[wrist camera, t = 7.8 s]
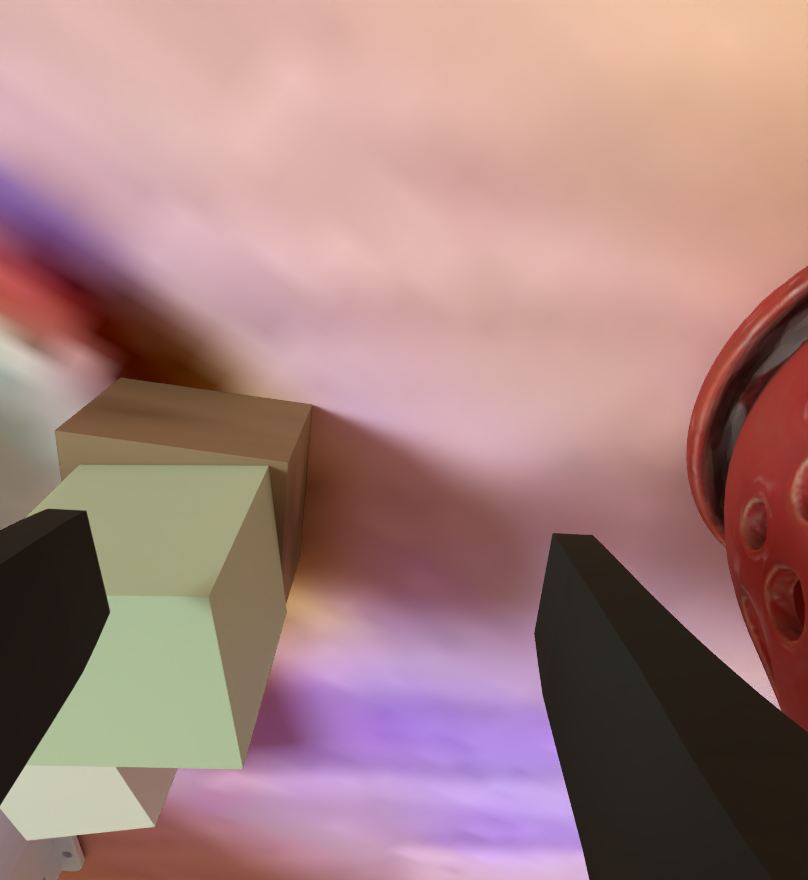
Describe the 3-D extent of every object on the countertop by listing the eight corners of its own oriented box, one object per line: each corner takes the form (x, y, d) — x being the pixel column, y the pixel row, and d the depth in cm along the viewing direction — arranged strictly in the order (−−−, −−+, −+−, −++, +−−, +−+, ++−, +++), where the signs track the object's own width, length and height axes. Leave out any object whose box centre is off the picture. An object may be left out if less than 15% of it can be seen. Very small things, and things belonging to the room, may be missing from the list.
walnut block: (301, 552, 22) (277, 633, 18) (135, 530, 22) (79, 607, 18) (313, 401, 19) (287, 462, 16) (124, 375, 19) (54, 430, 15)
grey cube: (201, 706, 26) (155, 826, 21) (93, 720, 26) (26, 840, 22) (155, 618, 23) (92, 732, 19) (39, 636, 24) (-49, 751, 20)
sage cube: (268, 465, 16) (208, 596, 11) (286, 612, 18) (242, 769, 14) (79, 464, 16) (-54, 593, 11) (121, 610, 18) (23, 765, 14)
